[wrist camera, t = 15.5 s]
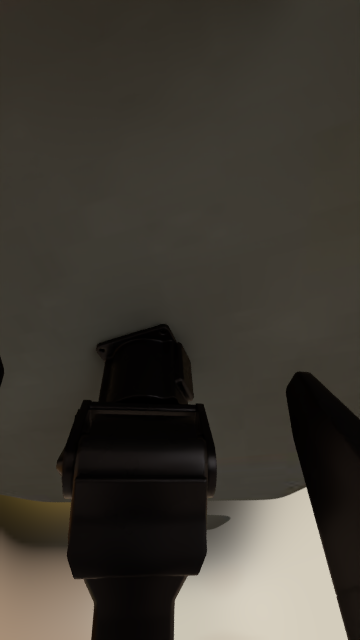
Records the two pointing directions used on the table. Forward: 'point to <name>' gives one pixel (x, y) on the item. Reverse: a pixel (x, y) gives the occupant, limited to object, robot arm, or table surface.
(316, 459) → the robot arm
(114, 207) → the table surface
